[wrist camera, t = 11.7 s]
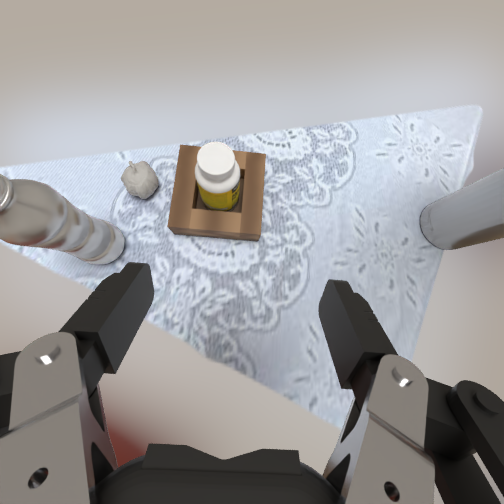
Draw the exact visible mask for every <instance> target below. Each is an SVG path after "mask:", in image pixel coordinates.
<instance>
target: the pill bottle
mask: <svg viewBox="0 0 504 504" xmlns="http://www.w3.org/2000/svg"><path fill="white" fill-rule="evenodd" d="M195 177H196V181H197V184H198V187H199V191H200V194H201V197H202V200H203V203H204V205H205V206H206V208H207V209H208V210H213V211H224V212H230V211H232V210H233V209H234V208H235V207H236V205H237V203H238V200H239V186H240V168H239V165H238V163H237V161H236V160H235V156H234V153H233V151H232V149H231V148H230V147H229V146H227V145H226V144H224V143H221V142H210V143H207V144H205V145H204V146H202V147H201V149H200V150H199V152H198V154H197V164H196V166H195Z"/></svg>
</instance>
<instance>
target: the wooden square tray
mask: <svg viewBox="0 0 504 504" xmlns="http://www.w3.org/2000/svg"><path fill="white" fill-rule="evenodd" d="M200 149H201V147H197V146H188V145H180V150H179V156H178V163H177V169H176V175H175V182H174V188H173V194H172V201H171V207H170V214H169V220H168V226H167V227H168V228H169V229H170V230H171V231H172V232H173V233H174V234H178V235H190V236H201V237H213V238H224V239H236V240H247V241H258V240H259V238H260V235H261V221H262V206H263V190H264V174H265V158H266V154H261V153H252V152H243V151H234V150H232V151H233V153H234V156H235V160H236V161H237V163H238V165H239V168H240V186H239V200H238V203H237V205H236V207H235V208H234V209H233V210H232V211H230V212H224V211H213V210H208V209H207V208H206V206H205V205H204V203H203V200H202V197H201V194H200V191H199V187H198V184H197V181H196V177H195V166H196V164H197V154H198V152H199V150H200Z"/></svg>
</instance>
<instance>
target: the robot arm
mask: <svg viewBox="0 0 504 504" xmlns="http://www.w3.org/2000/svg"><path fill="white" fill-rule="evenodd" d="M420 224H421V229H422V231H423V234H424V235H425V237H426V238H427V239H428V240H429V241H430V242H431V243H432V244H433V245H435V246H437V247H438V248H441V249H445V250H453V249H458V248H462V247H466V246H471V245H475V244H479V243H483V242H488V241H492V240H496V239H500V238H504V168H503V169H501V170H499V171H496V172H495V173H492V174H491V175H488V176H486V177H484V178H482V179H480V180H478V181H476V182H474V183H472V184H470V185H468V186H466V187H464V188H462V189H460V190H458V191H456V192H454V193H452V194H450V195H448V196H446V197H444V198H442V199H440V200H438V201H436V202H434V203H431V204H430V205H428V206H427V207H426V208H425V209H424V210H423V212H422V214H421V218H420ZM153 298H154V287H153V281H152V276H151V270H150V266H149V264H147V263H135V262H129V263H127V264H126V266H125V267H124V268H123V269H122V271H121V272H120V273H114V274H112V275H110V276H109V277H107V278H106V279H104V280H103V281H102V282H101V283H100V284H99V285H98V287H97V288H96V289H95V291H93V292H92V294H91V295H90V296H89V297H88V300H85V302H84V303H83V304H82V305H81V306H80V307H79V309H78V310H77V311H76V312H75V313H74V314H73V316H72V317H71V318H70V319H69V320H68V322H67V323H66V324H65V325H64V326H63V327H62V328H61V330H60V331H59V332H56V333H52V334H48V335H45V336H43V337H41V338H38V339H37V340H35V341H33V342H32V343H30V344H29V345H28V346H27V347H25V348H24V349H23V350H22V351H19V352H14V353H9V354H4V355H0V504H434V481H435V484H436V486H437V488H438V491H439V493H440V495H441V497H442V500H443V502H444V504H501V503H500V501H499V499H498V498H497V496H496V494H495V493H494V491H493V489H492V487H491V486H490V484H489V482H488V481H487V479H486V477H485V475H484V474H483V472H482V470H481V468H480V467H479V465H478V463H477V462H476V460H475V458H474V457H473V455H472V454H474V453H476V452H477V453H478V455H479V456H480V458H481V460H482V461H483V463H484V465H485V466H486V468H487V470H488V471H489V473H490V475H491V476H492V478H493V480H494V481H495V483H496V485H497V486H498V488H499V490H500V492H501V493H502V494H503V497H504V402H503V401H502V400H501V399H500V398H499V397H498V396H497V395H496V394H494V393H493V392H491V391H490V390H488V389H487V388H486V387H484V386H482V385H480V384H478V383H475V382H472V381H467V380H464V381H460V382H459V383H458V384H456V385H455V387H450V386H448V385H445V384H442V383H439V382H436V381H434V380H431V379H428V378H426V377H424V375H423V373H422V372H421V371H420V370H419V369H418V368H417V367H416V366H415V365H414V364H413V363H411V362H410V361H408V360H407V359H405V358H403V357H401V356H398V354H397V352H396V351H395V349H394V347H393V345H392V344H391V342H390V340H389V339H388V337H387V335H386V333H385V332H384V330H383V328H382V326H381V325H380V323H379V322H378V319H377V318H376V316H375V314H373V311H372V309H371V307H370V306H369V304H368V302H367V301H366V300H365V299H364V298H363V297H362V296H361V295H360V294H358V293H354V292H353V290H352V288H351V286H350V285H349V283H348V282H347V281H343V280H331V279H330V280H328V282H327V284H326V287H325V289H324V292H323V295H322V297H321V300H320V303H319V318H320V321H321V324H322V327H323V331H324V334H325V337H326V340H327V344H328V347H329V350H330V353H331V357H332V360H333V363H334V366H335V370H336V373H337V376H338V379H339V382H340V386H341V389H352V390H353V393H354V396H355V397H354V398H353V400H352V403H351V405H350V408H349V411H348V414H347V417H346V419H345V422H344V425H343V428H342V431H341V433H340V436H339V439H338V442H337V444H336V447H335V449H334V451H333V453H332V455H331V457H330V459H329V461H328V463H327V465H326V468H325V470H324V473H323V475H321V474H319V473H318V472H317V471H315V470H314V469H313V468H311V467H309V466H308V465H306V464H304V463H302V462H300V460H299V453H298V450H278V449H260V450H257V451H253V452H250V453H247V454H243V455H240V456H237V457H234V458H230V459H226V460H222V459H219V458H216V457H214V456H211V455H209V454H207V453H204V452H202V451H199V450H197V449H194V448H192V447H190V446H187V445H170V444H149V445H148V448H147V451H146V455H143V456H140V457H138V458H135V459H133V460H131V461H129V462H127V463H125V464H124V465H122V466H120V467H119V468H118V465H117V461H116V457H115V453H114V450H113V447H112V444H111V441H110V438H109V434H108V429H107V424H106V418H105V413H104V408H103V403H102V397H101V392H100V387H99V384H98V382H99V381H100V379H101V377H102V375H103V373H109V374H116V372H117V370H118V368H119V366H120V364H121V362H122V360H123V358H124V356H125V354H126V352H127V351H128V349H129V347H130V345H131V343H132V341H133V339H134V337H135V335H136V333H137V331H138V329H139V327H140V325H141V323H142V321H143V319H144V318H145V316H146V314H147V312H148V310H149V308H150V306H151V304H152V301H153Z"/></svg>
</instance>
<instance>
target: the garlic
mask: <svg viewBox="0 0 504 504" xmlns="http://www.w3.org/2000/svg"><path fill="white" fill-rule="evenodd" d="M129 164H130V166H129V167H127V168H126V169H125V171H124V172H123V175H122V177H121V180H122V182H123V183H124V186H125V187H126V189H127V191H128V192H129V193H130V194H131V195H133V196H139V197H140V198H141V199H146V198H148V197H149V196H150V195H152V194H153V193H154V191H155V190H156V189H157V187H158V185H159V182H158V177H157V176H156V174H155V172H154V170H153V169H152V168H150V166H149V164H148V163H147V162H145V161H141V162H139V163H136V164H133V163H132V161H129Z"/></svg>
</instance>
